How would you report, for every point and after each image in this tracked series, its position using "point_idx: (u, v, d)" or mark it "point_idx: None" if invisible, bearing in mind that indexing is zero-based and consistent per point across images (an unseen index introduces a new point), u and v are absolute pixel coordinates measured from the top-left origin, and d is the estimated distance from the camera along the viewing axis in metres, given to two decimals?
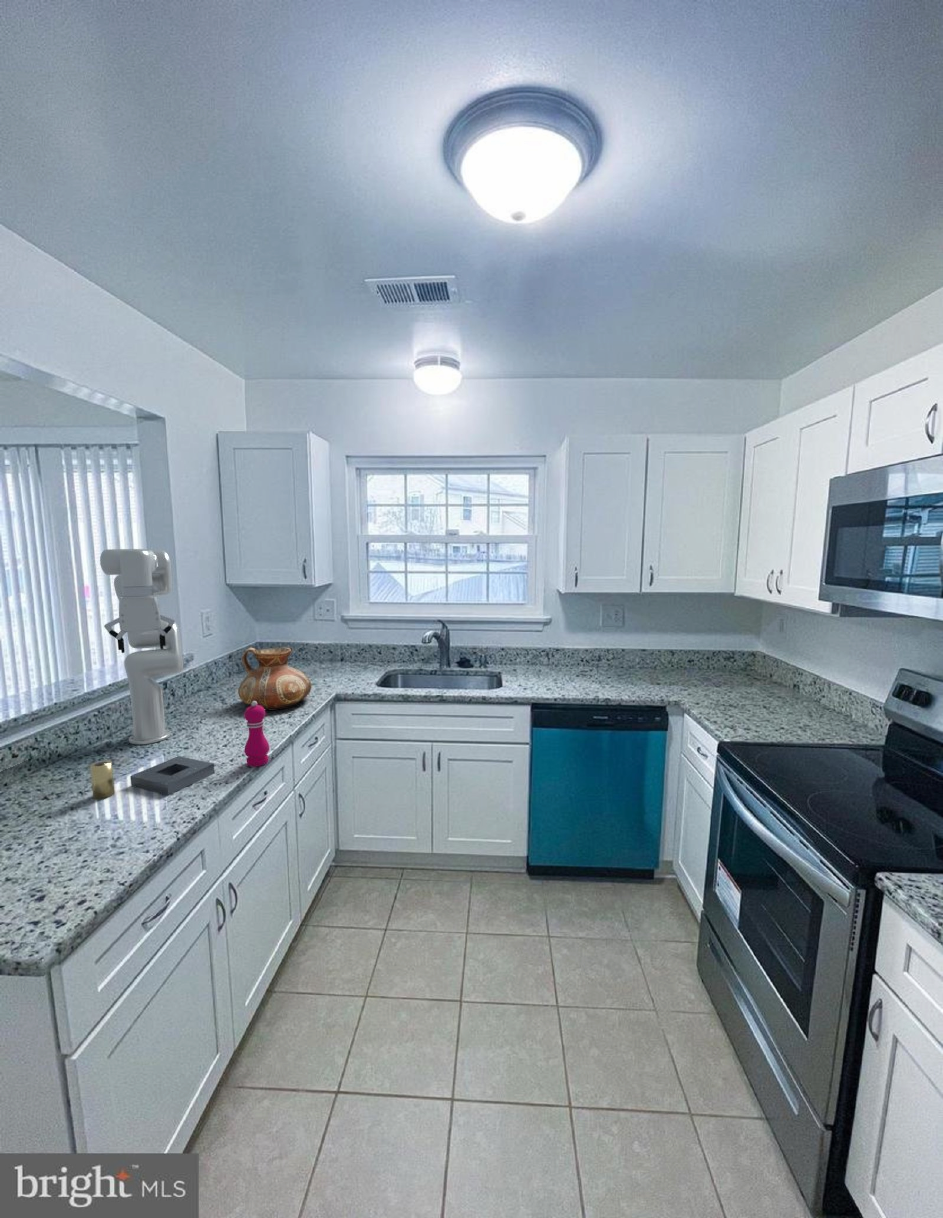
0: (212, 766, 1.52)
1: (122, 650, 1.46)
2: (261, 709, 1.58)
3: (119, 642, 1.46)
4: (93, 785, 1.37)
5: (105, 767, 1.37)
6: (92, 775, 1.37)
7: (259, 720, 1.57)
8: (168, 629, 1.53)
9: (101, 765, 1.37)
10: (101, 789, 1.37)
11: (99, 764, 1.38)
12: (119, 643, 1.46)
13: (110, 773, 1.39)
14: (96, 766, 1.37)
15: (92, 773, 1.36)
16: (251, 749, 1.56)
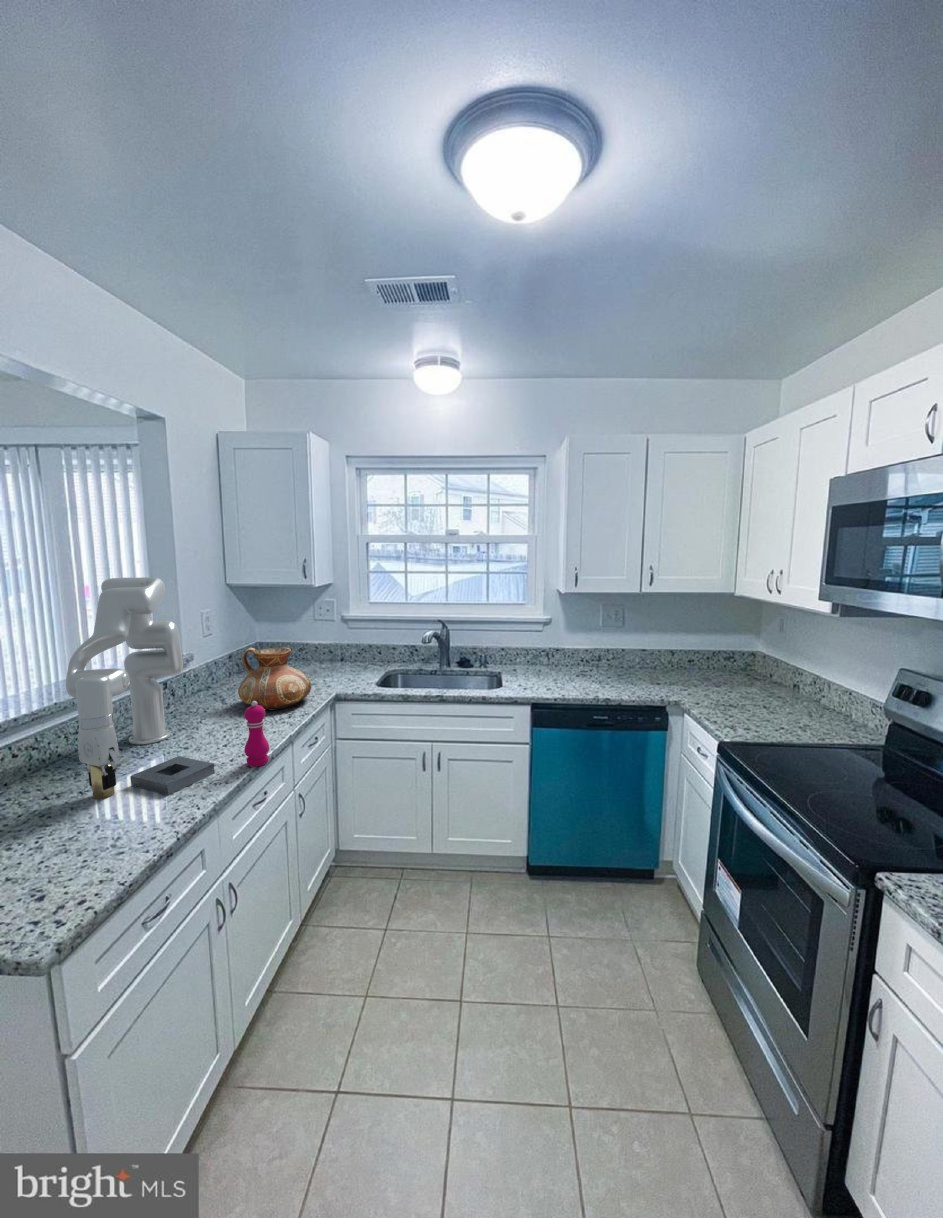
0: (212, 766, 1.52)
1: None
2: (261, 709, 1.58)
3: None
4: (93, 785, 1.37)
5: None
6: (92, 775, 1.37)
7: (259, 720, 1.57)
8: None
9: None
10: (101, 789, 1.37)
11: None
12: None
13: None
14: (96, 766, 1.37)
15: (92, 773, 1.36)
16: (251, 749, 1.56)
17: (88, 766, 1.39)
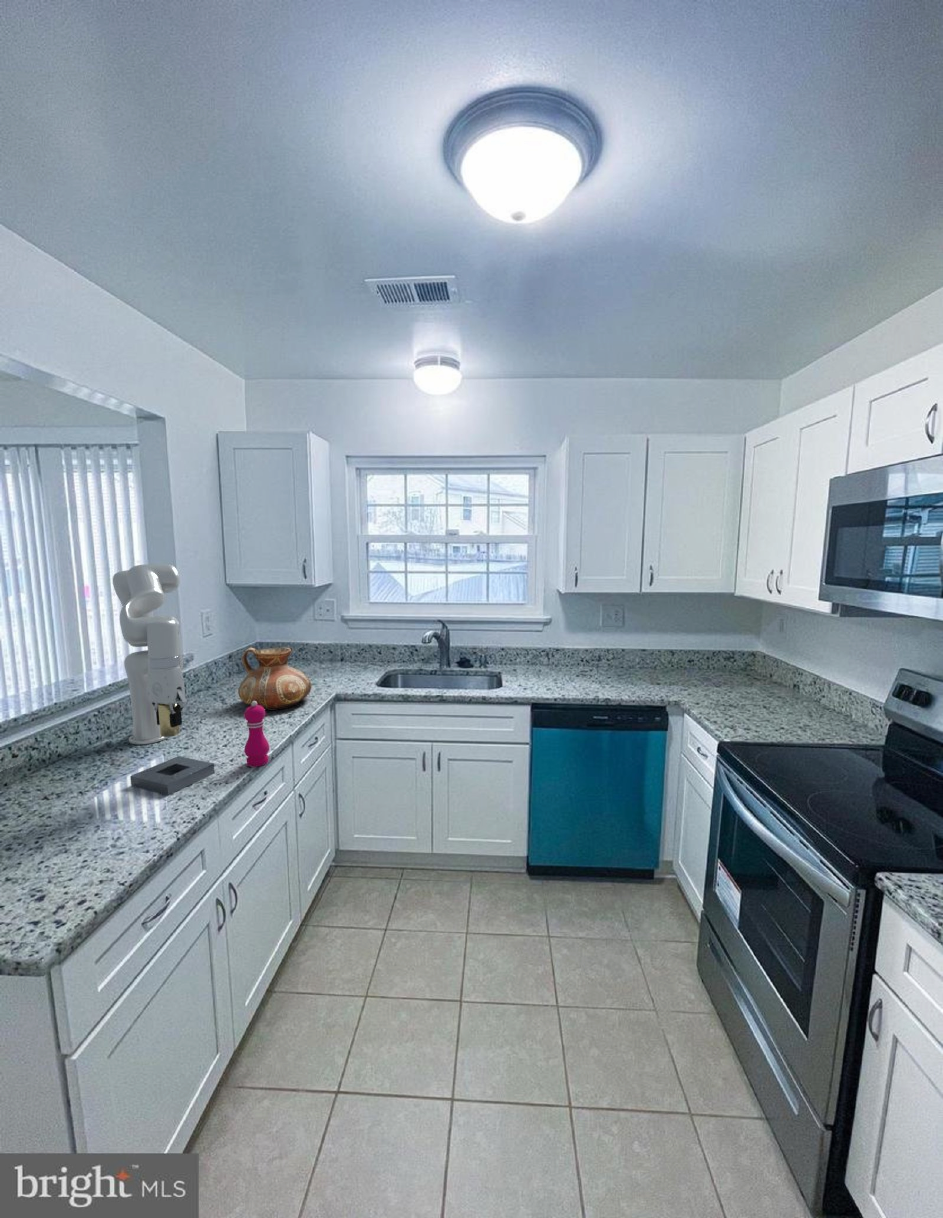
0: (212, 766, 1.52)
1: None
2: (261, 709, 1.58)
3: None
4: (161, 723, 1.45)
5: None
6: (160, 713, 1.44)
7: (259, 720, 1.57)
8: None
9: None
10: (168, 727, 1.45)
11: None
12: None
13: None
14: (164, 705, 1.45)
15: (160, 711, 1.44)
16: (251, 749, 1.56)
17: (156, 706, 1.46)
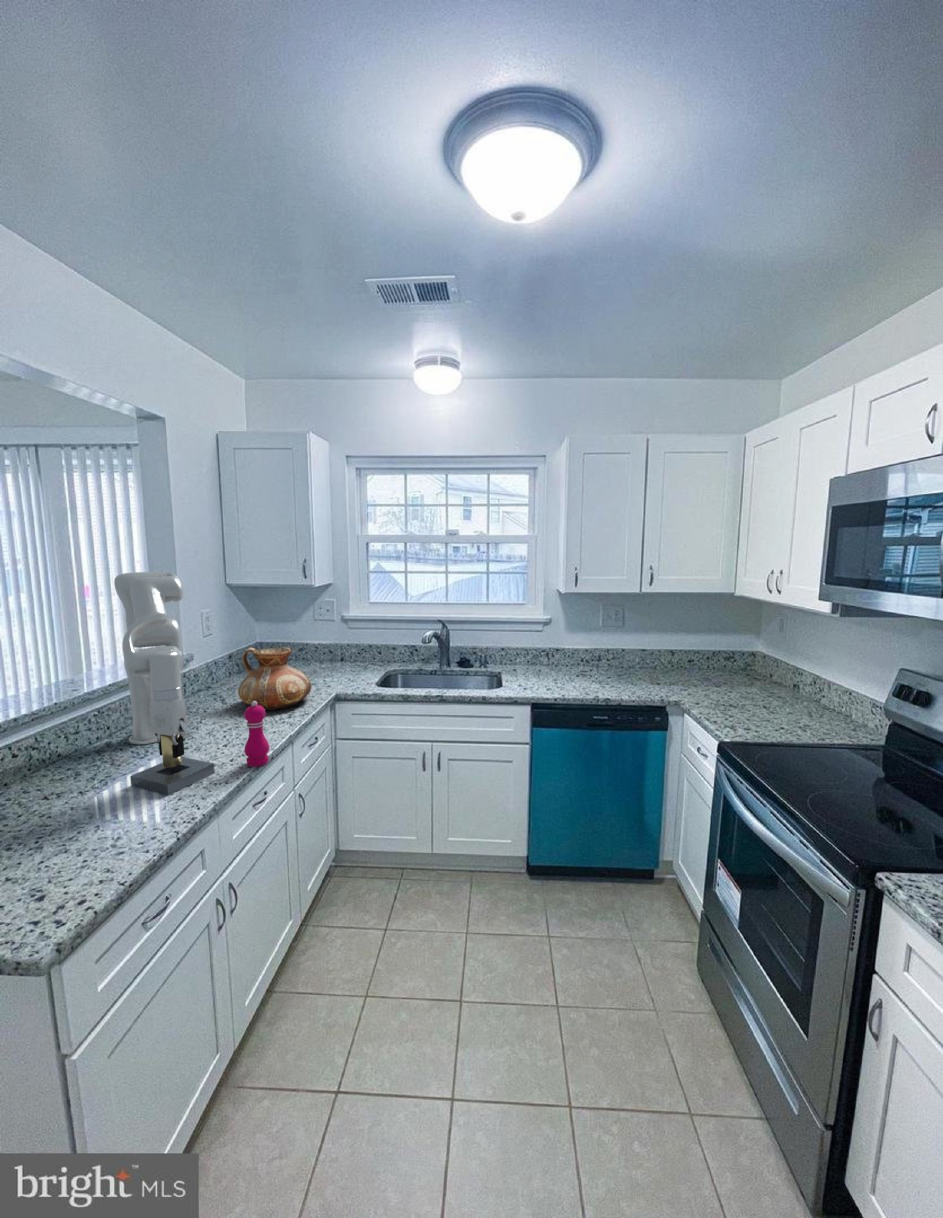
0: (212, 766, 1.52)
1: None
2: (261, 709, 1.58)
3: None
4: (164, 754, 1.46)
5: None
6: (163, 744, 1.45)
7: (259, 720, 1.57)
8: None
9: None
10: (171, 758, 1.46)
11: None
12: None
13: None
14: (166, 736, 1.46)
15: (163, 742, 1.45)
16: (251, 749, 1.56)
17: (158, 736, 1.47)
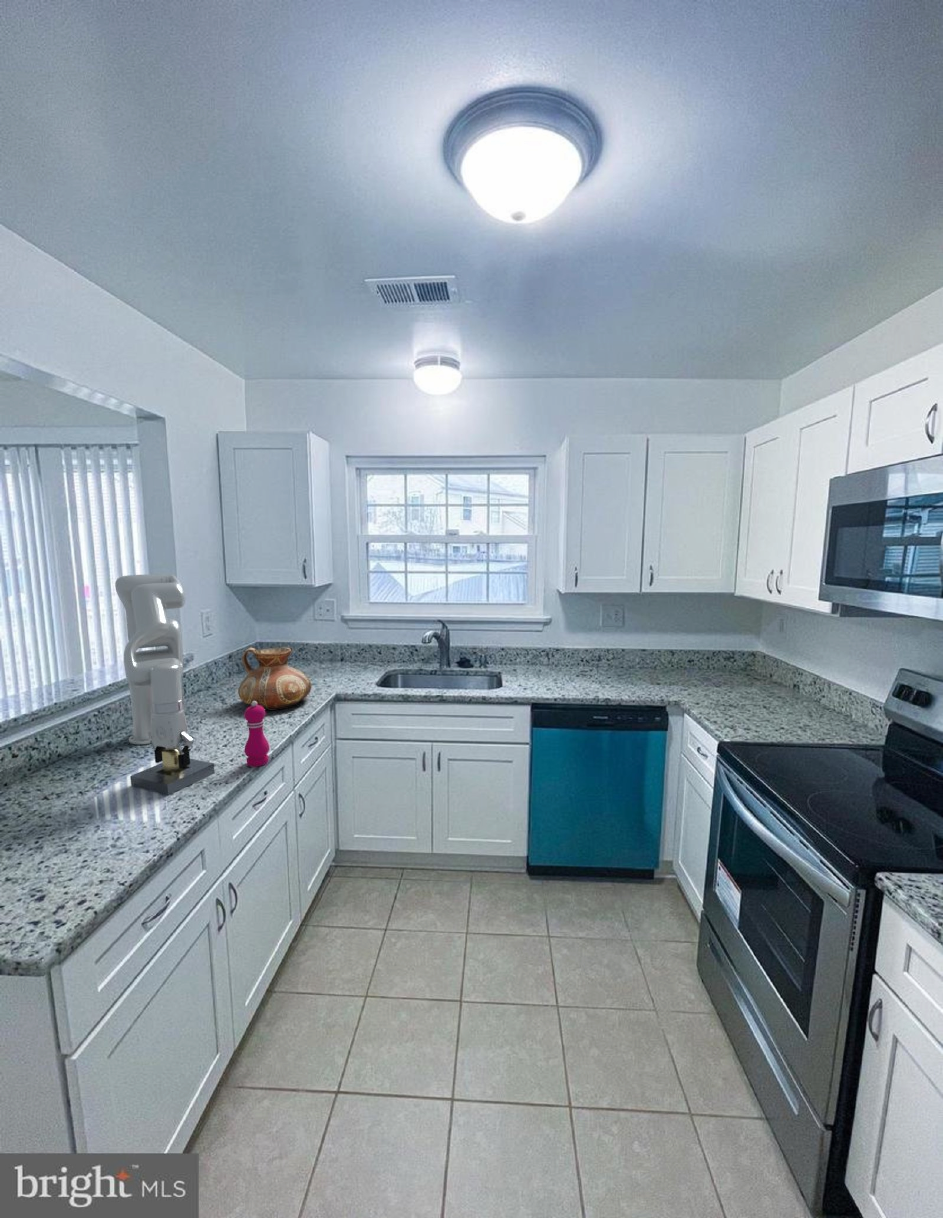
0: (212, 766, 1.52)
1: None
2: (261, 709, 1.58)
3: None
4: (165, 769, 1.46)
5: (175, 752, 1.47)
6: (164, 760, 1.46)
7: (259, 720, 1.57)
8: None
9: (172, 751, 1.47)
10: (172, 773, 1.47)
11: (170, 750, 1.47)
12: None
13: None
14: (168, 752, 1.46)
15: (164, 758, 1.46)
16: (251, 749, 1.56)
17: None
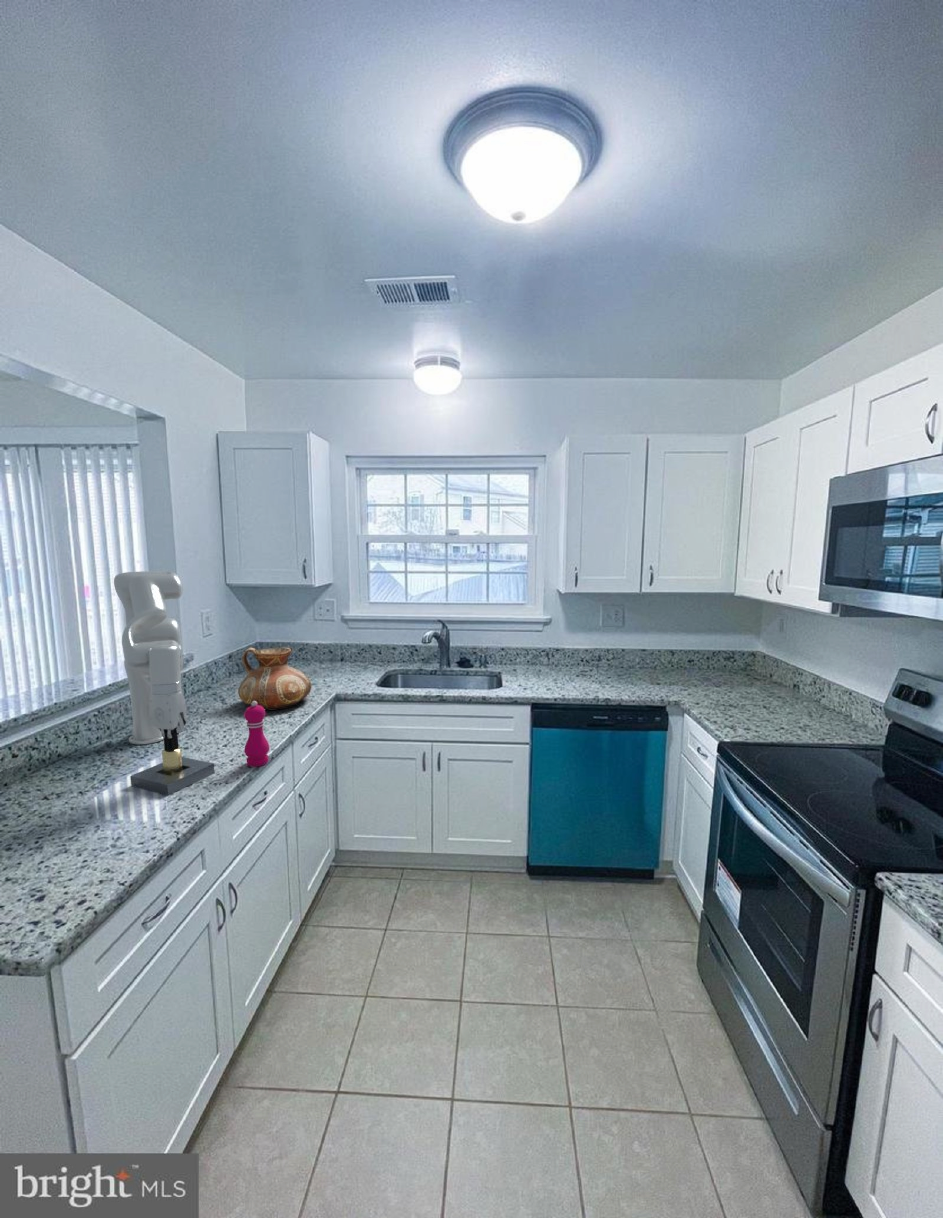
0: (212, 766, 1.52)
1: None
2: (261, 709, 1.58)
3: None
4: (165, 769, 1.46)
5: (176, 752, 1.47)
6: (164, 760, 1.46)
7: (259, 720, 1.57)
8: None
9: (172, 751, 1.47)
10: (172, 773, 1.47)
11: None
12: None
13: (180, 758, 1.48)
14: (168, 752, 1.46)
15: (164, 758, 1.46)
16: (251, 749, 1.56)
17: (163, 732, 1.46)
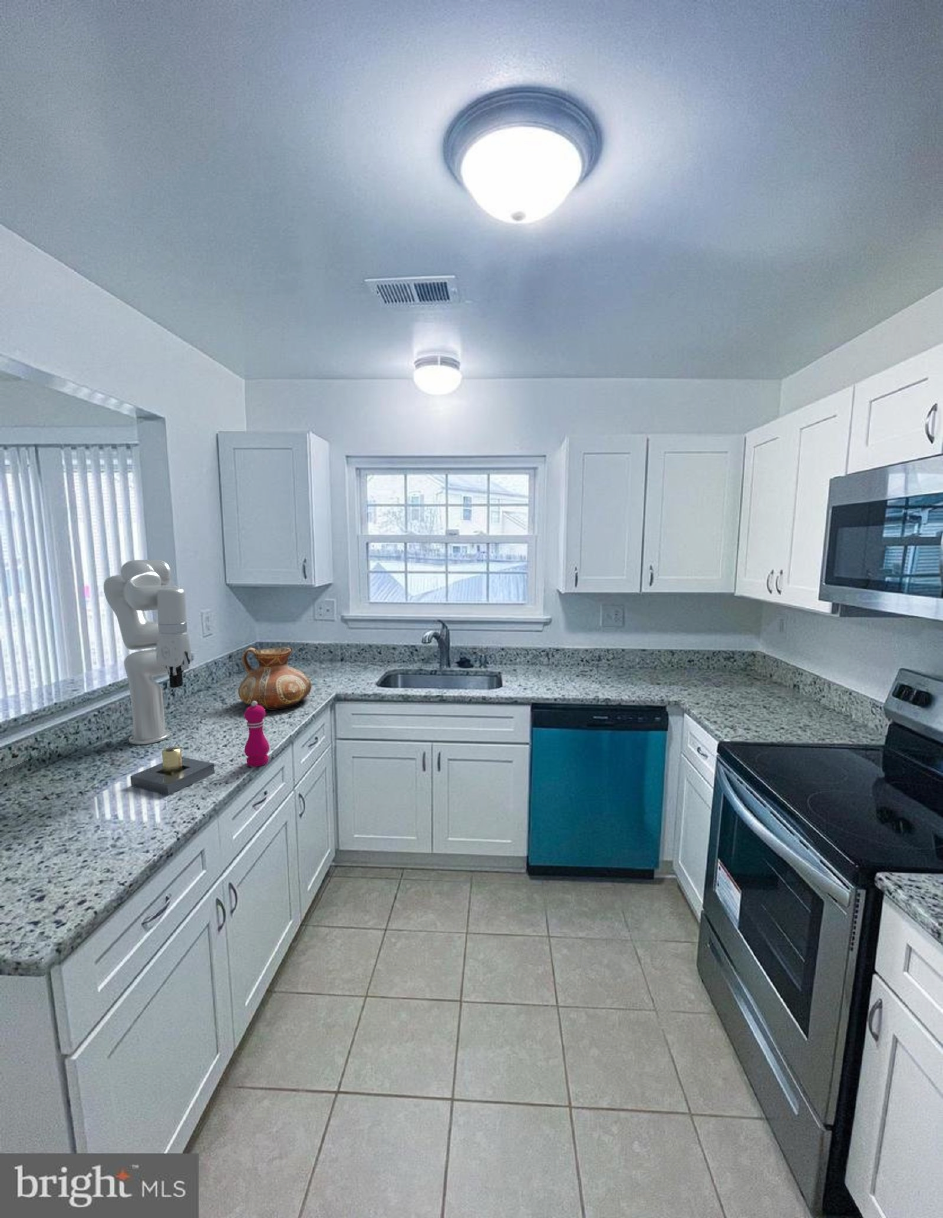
0: (212, 766, 1.52)
1: None
2: (261, 709, 1.58)
3: None
4: (165, 769, 1.46)
5: (175, 752, 1.47)
6: (164, 760, 1.46)
7: (259, 720, 1.57)
8: None
9: (172, 751, 1.47)
10: (172, 773, 1.47)
11: (170, 750, 1.47)
12: None
13: (180, 758, 1.48)
14: (168, 752, 1.46)
15: (164, 758, 1.46)
16: (251, 749, 1.56)
17: (169, 669, 1.57)
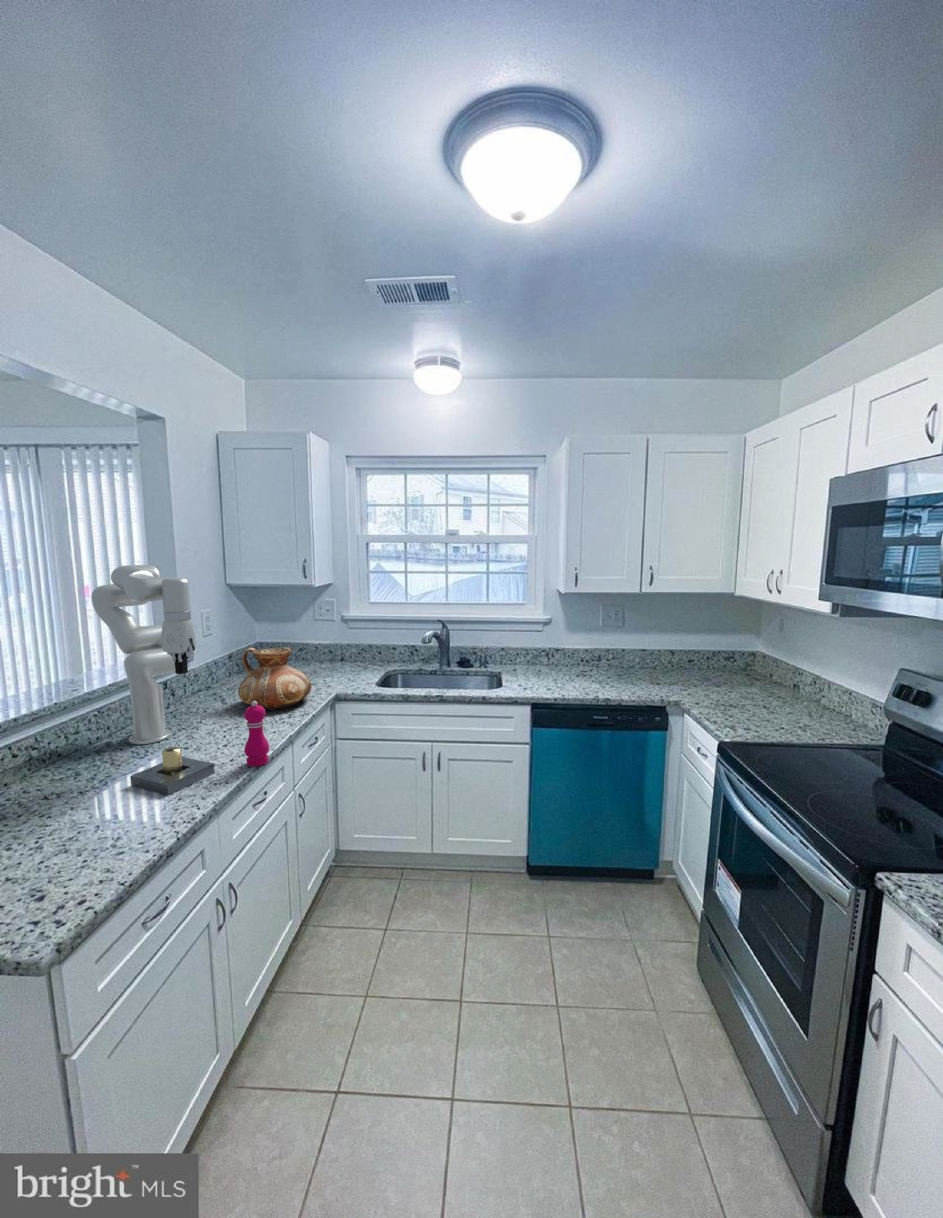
0: (212, 766, 1.52)
1: None
2: (261, 709, 1.58)
3: None
4: (165, 769, 1.46)
5: (175, 752, 1.47)
6: (164, 760, 1.46)
7: (259, 720, 1.57)
8: None
9: (172, 751, 1.47)
10: (172, 773, 1.47)
11: (170, 750, 1.47)
12: None
13: (180, 758, 1.48)
14: (168, 752, 1.46)
15: (164, 758, 1.46)
16: (251, 749, 1.56)
17: (174, 656, 1.63)
